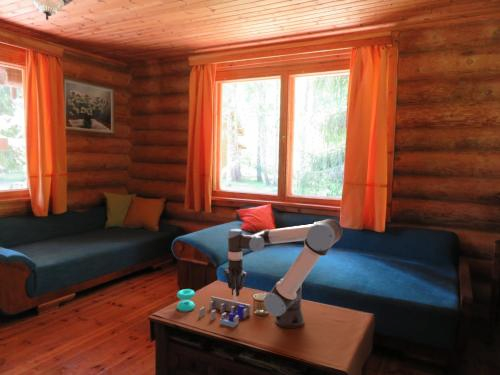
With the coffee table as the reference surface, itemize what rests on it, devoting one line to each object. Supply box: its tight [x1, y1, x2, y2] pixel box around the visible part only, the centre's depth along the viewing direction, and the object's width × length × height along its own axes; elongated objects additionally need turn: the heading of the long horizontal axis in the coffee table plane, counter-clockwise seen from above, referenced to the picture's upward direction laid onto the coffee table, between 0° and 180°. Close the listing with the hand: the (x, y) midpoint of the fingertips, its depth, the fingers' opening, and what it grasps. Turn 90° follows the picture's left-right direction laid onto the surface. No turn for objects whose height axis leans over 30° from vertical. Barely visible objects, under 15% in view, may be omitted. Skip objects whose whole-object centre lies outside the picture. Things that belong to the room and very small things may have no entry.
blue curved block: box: [228, 305, 245, 322], centre depth 196 cm, size 12×4×6 cm, turn 153°
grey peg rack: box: [198, 295, 252, 328], centre depth 199 cm, size 25×16×6 cm, turn 64°
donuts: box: [176, 288, 196, 312], centre depth 208 cm, size 10×10×10 cm
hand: (235, 301), depth 195 cm, fingers closed
